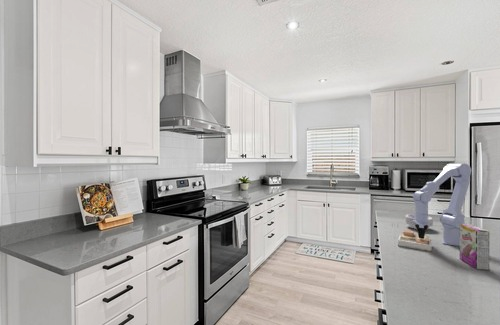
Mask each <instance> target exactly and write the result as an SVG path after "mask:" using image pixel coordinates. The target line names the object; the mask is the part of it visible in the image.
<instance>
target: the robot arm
mask: <svg viewBox="0 0 500 325" xmlns="http://www.w3.org/2000/svg"><path fill="white" fill-rule="evenodd" d="M472 172H473V171H472V168H471V166H470V165H469V164H468V163H451V162H449V163H447V164H446V165H445V166H444V167H443V169H442V171H441V172H440V173H439V175H438V176H437V177H435V179H434V180H433V181H427V182H426V183H425V185H424V186H423V187H422V188H420V190H418V191H415V192H414V193H413V195H412V199H413V201H414V212H415V220H413V222H415V223H417V224H415V227H416V229H415V230H416V231H417V234H418V236H419V238H421V239H424V236H426V231H427V230H428V229H429V228H428V225H427V224H428V216H429V202H431V201H432V197H433V195H434V194H435V193H436V192H437V191H439V190H440V186H441V185H442V184H443V183H445V181H447V180H448V179H449V178H452V179H454V181H455V185H454V188H453V190H452V194H451V197H450V201H449V203H448V204H449V205H448V208H446V209H444V210H443V211H442V213H441V215H440V216H439V221H440V222H439V223H441V226H442V225H443V226H442V239H441V242H442V244H444V245H451V246H457V247H460V224H465V215H464V214H463V212H462V209H463V207H464V206H463V205H464V203H465V199H466V195H467V192H468V190H469V186H470V182H471V173H472ZM427 228H428V229H427Z"/></svg>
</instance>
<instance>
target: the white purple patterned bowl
mask: <svg viewBox="0 0 500 325" xmlns="http://www.w3.org/2000/svg"><path fill="white" fill-rule="evenodd" d="M404 220H405V224H407V225H408V226H409V227H410V228H411V229H413V228H414V229H413V230H417V229H416V227H415V224H417V223H415V222H413V220H415V214H412V213H411V214H410V213H409V214H406V215H405V219H404ZM433 221H434V220H433V217H431V216H429V215H428V224H427V225H428V228H427V230H429V228H430V227H433V226H434V225H433V224H434V222H433Z"/></svg>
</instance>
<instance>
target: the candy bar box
mask: <svg viewBox="0 0 500 325" xmlns="http://www.w3.org/2000/svg"><path fill="white" fill-rule="evenodd" d="M459 259H460V260H461V261H462V262H464V263H466V264H467V265H469V266H471V267H472V268H474V269H476V270H479V271H481V270H482V271H483V270H484V271H490V230H487V229H484V228H482V227H479V226H477V225H474V224H471V223H464V224H460V246H459Z"/></svg>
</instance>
